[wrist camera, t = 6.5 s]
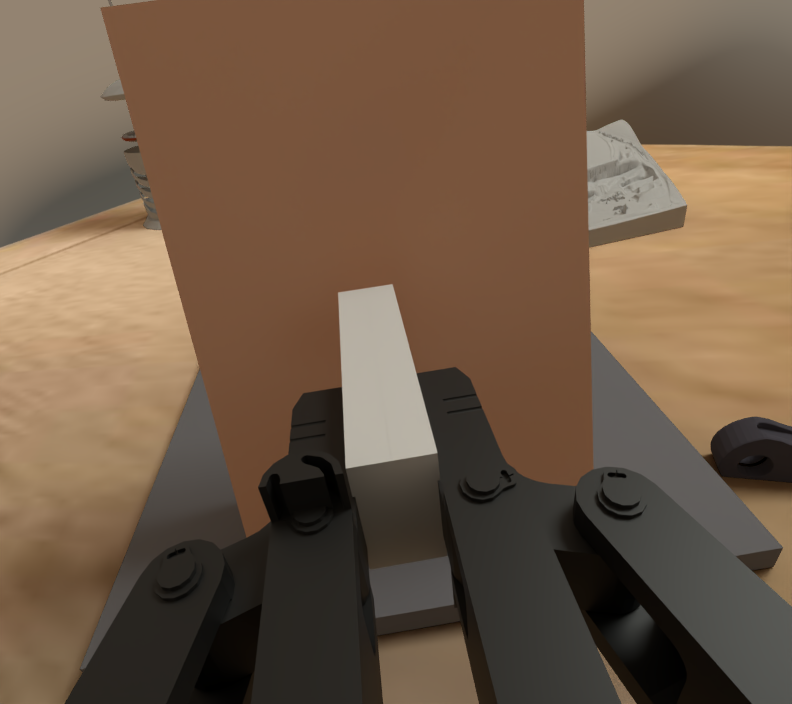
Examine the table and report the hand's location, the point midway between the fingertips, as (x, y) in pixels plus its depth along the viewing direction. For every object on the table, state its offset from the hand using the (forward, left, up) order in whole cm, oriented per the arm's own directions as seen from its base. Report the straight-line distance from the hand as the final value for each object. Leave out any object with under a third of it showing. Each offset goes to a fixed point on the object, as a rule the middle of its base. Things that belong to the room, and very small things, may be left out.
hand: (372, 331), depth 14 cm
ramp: (-23, -34, -10) cm, 42 cm away
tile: (-1, 0, -7) cm, 8 cm away
